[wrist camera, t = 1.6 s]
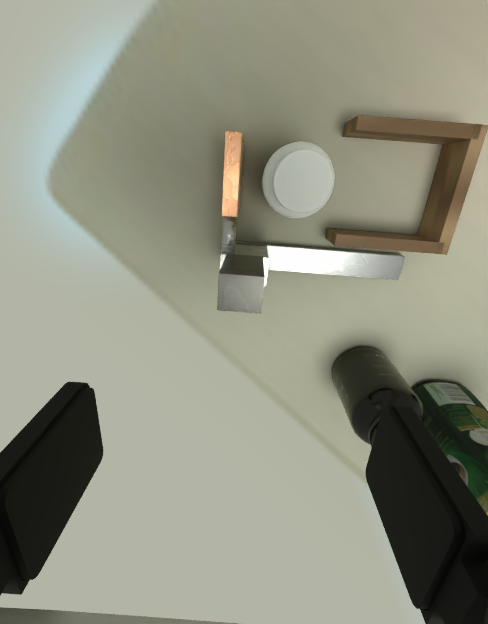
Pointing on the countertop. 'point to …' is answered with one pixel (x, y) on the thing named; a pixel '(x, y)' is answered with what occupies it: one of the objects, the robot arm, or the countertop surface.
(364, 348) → the supplement bottle
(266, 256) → the carriage
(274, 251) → the rail
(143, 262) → the countertop surface
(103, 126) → the countertop surface
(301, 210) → the supplement bottle
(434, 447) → the robot arm
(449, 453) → the coffee jar
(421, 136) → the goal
